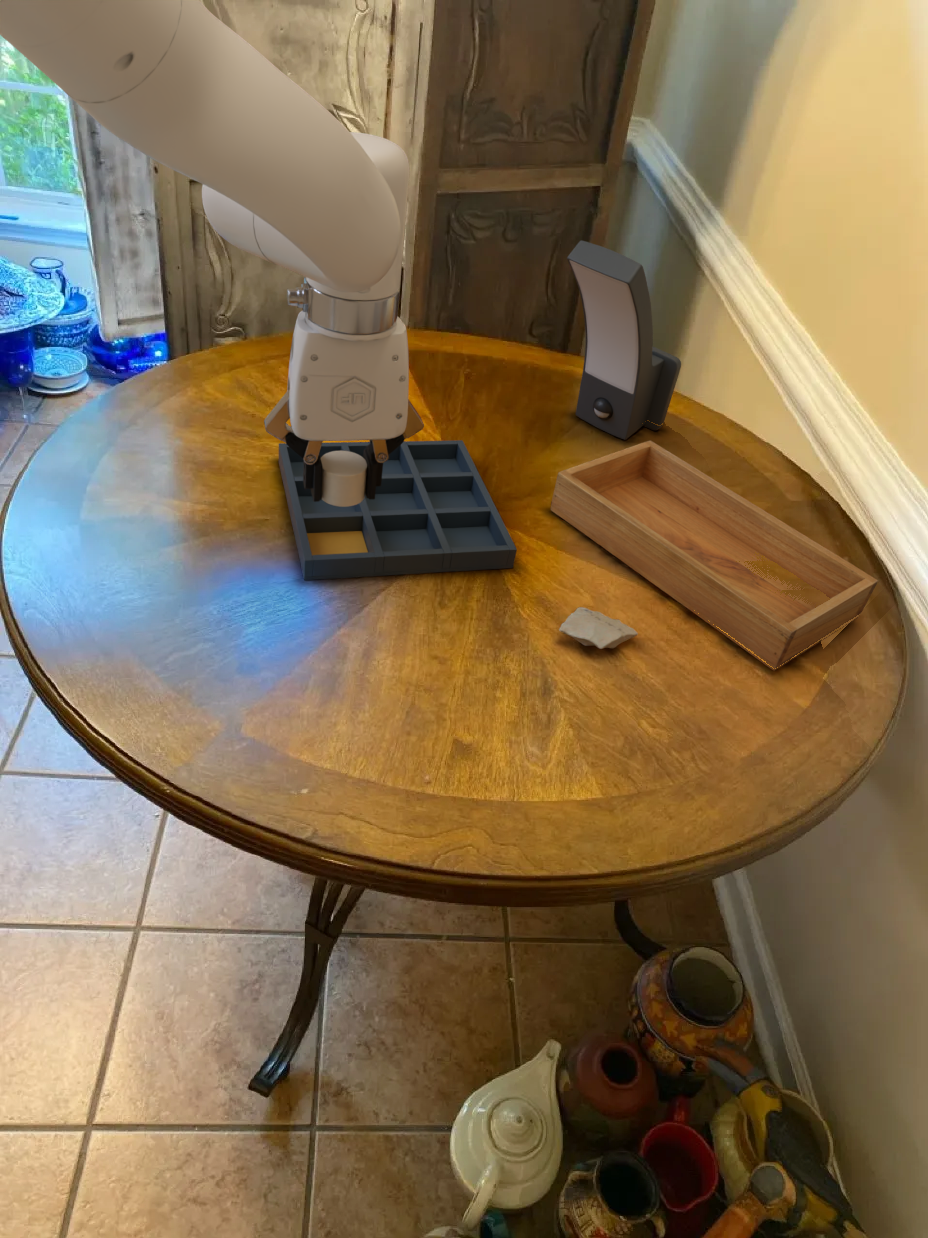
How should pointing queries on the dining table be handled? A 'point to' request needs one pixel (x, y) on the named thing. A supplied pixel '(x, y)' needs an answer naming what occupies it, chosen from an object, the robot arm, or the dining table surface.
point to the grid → (400, 516)
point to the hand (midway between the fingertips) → (341, 490)
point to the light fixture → (619, 345)
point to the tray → (710, 549)
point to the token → (343, 478)
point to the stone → (596, 629)
